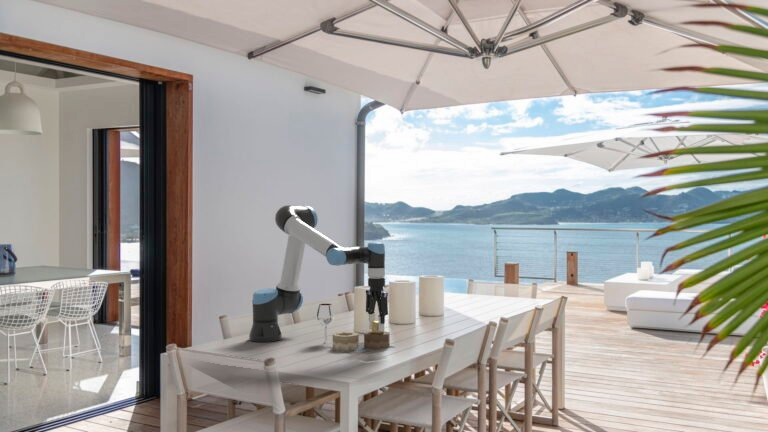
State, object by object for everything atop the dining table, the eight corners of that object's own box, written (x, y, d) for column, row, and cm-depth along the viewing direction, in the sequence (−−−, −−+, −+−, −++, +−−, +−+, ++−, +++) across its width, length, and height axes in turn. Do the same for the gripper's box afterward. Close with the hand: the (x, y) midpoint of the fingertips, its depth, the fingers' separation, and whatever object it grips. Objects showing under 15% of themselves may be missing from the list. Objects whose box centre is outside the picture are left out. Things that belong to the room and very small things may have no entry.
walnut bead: (374, 350, 286) (373, 336, 286) (360, 346, 295) (360, 332, 295) (393, 347, 292) (393, 333, 292) (379, 343, 301) (379, 330, 301)
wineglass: (320, 346, 298) (320, 306, 298) (314, 343, 305) (313, 304, 305) (337, 344, 302) (337, 304, 302) (330, 341, 309) (330, 302, 309)
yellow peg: (376, 347, 291) (377, 323, 290) (371, 345, 294) (372, 321, 293) (383, 346, 293) (384, 322, 292) (378, 344, 296) (379, 320, 295)
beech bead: (341, 351, 284) (341, 337, 283) (328, 347, 292) (328, 333, 292) (362, 348, 290) (362, 334, 290) (349, 344, 298) (349, 331, 298)
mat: (350, 355, 278) (350, 354, 278) (327, 348, 293) (327, 347, 293) (396, 348, 292) (396, 347, 292) (372, 342, 307) (372, 340, 307)
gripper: (396, 278, 288) (396, 332, 288) (371, 275, 303) (371, 326, 303) (382, 279, 283) (382, 333, 283) (357, 276, 299) (357, 327, 299)
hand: (376, 329), depth 293 cm, fingers open, 6 cm apart
